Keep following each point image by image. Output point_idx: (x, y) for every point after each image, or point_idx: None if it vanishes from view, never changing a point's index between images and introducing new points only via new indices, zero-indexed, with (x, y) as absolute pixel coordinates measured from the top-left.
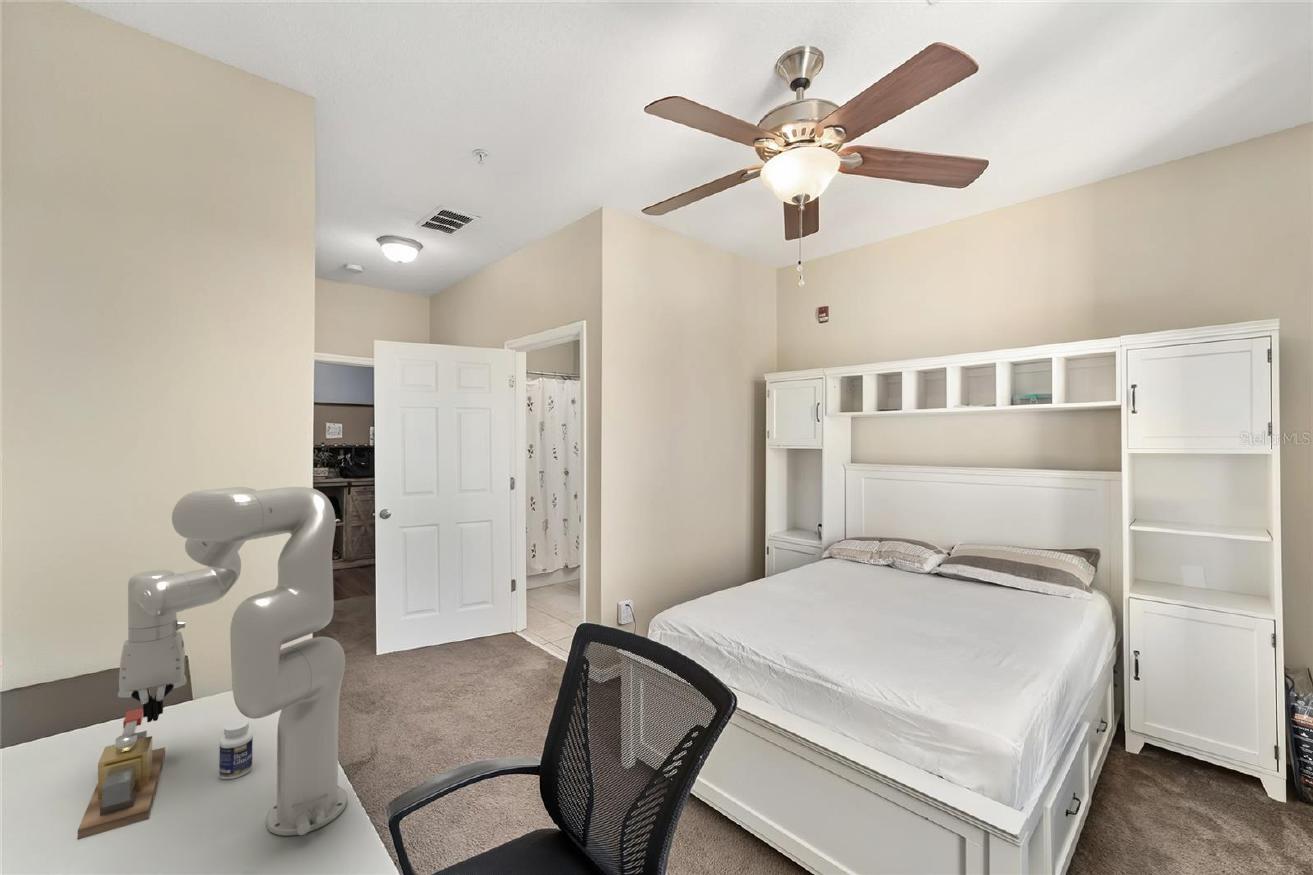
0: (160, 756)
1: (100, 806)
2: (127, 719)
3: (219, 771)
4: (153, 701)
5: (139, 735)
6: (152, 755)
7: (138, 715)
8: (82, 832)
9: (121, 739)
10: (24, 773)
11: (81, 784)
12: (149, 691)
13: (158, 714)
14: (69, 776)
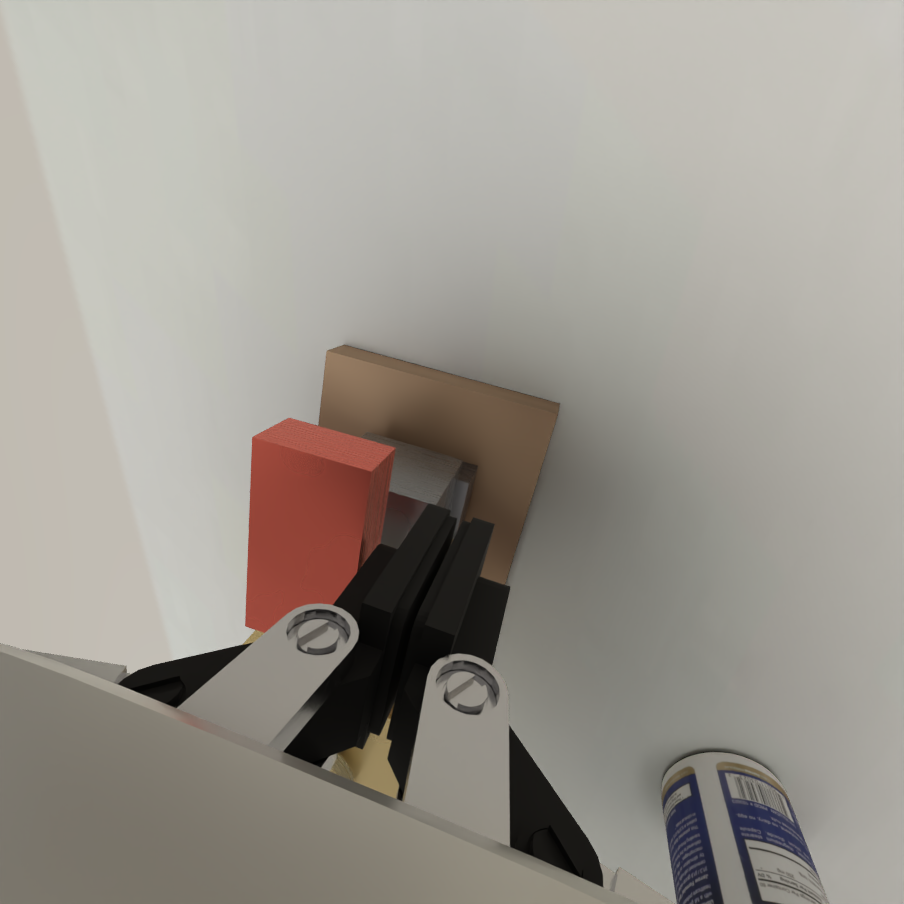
0: (519, 505)
1: None
2: (266, 607)
3: (664, 803)
4: (393, 715)
5: (395, 543)
6: (493, 463)
7: (330, 600)
8: None
9: None
10: (60, 90)
11: (271, 418)
12: (315, 703)
13: (480, 572)
14: (225, 298)
